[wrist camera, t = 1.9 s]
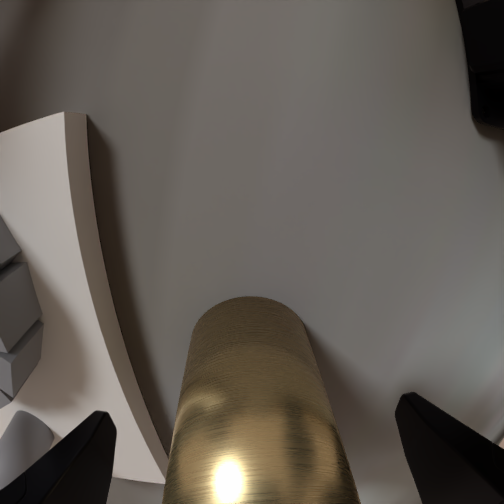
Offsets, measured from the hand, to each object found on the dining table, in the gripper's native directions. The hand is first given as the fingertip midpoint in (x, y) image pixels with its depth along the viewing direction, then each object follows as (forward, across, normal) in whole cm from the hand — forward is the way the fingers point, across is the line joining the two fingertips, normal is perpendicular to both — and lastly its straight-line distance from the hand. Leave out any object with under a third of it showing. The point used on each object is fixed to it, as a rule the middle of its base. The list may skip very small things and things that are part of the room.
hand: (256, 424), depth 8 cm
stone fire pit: (+4, +12, 0) cm, 13 cm away
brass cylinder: (+4, 0, 0) cm, 4 cm away
